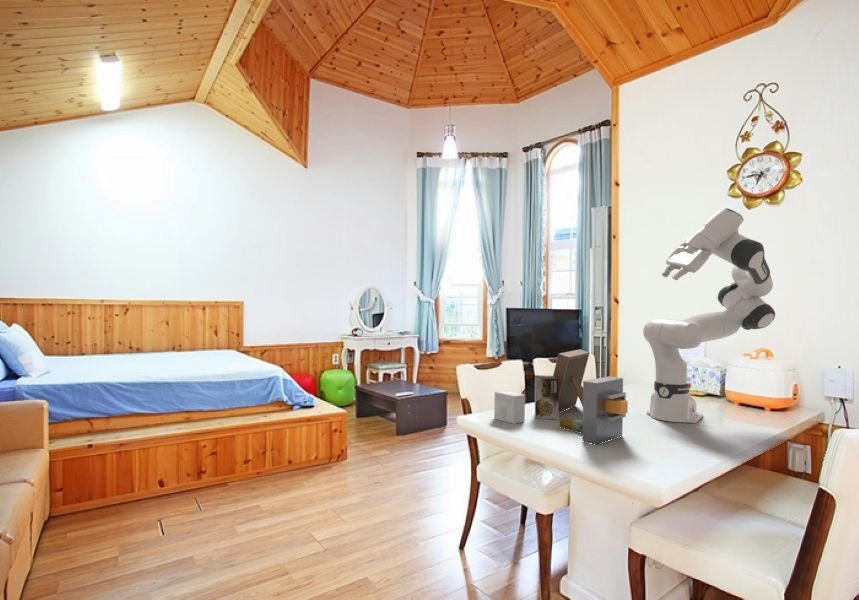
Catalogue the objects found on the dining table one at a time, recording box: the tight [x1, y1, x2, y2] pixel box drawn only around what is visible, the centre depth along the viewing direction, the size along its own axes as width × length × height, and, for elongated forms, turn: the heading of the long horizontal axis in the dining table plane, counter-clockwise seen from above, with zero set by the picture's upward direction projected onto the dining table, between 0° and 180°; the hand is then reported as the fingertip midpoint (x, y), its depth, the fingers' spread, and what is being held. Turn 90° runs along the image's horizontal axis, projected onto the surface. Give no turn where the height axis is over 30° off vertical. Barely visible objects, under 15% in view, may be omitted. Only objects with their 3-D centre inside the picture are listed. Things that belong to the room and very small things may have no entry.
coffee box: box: [534, 374, 560, 420], centre depth 191 cm, size 9×6×16 cm
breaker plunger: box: [605, 398, 629, 415], centre depth 160 cm, size 4×10×4 cm, turn 39°
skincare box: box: [493, 390, 526, 425], centre depth 186 cm, size 10×6×10 cm, turn 39°
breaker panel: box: [582, 375, 627, 446], centre depth 161 cm, size 16×8×20 cm, turn 129°
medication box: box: [558, 416, 583, 434], centre depth 173 cm, size 12×3×4 cm, turn 38°
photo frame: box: [552, 349, 590, 414], centre depth 200 cm, size 15×22×25 cm
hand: (668, 277), depth 169 cm, fingers open, 8 cm apart
